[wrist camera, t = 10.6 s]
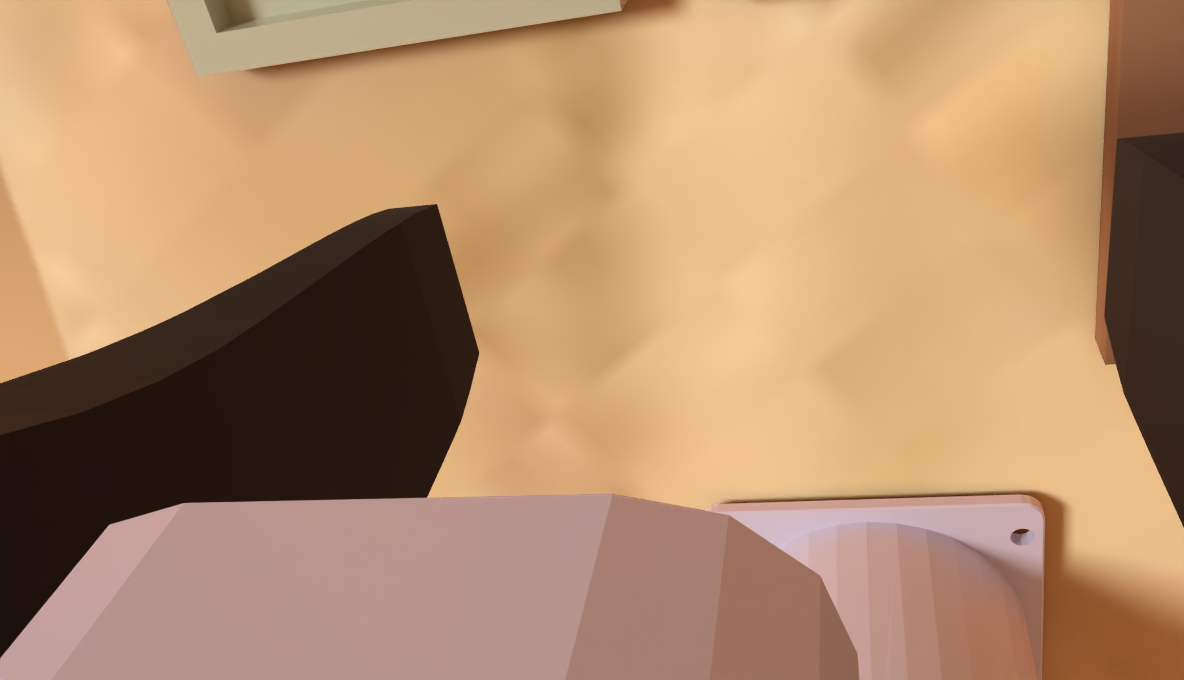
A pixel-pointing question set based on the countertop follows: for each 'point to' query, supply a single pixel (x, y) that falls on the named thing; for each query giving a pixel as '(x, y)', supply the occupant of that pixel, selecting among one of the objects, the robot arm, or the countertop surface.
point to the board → (1137, 102)
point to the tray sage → (346, 26)
